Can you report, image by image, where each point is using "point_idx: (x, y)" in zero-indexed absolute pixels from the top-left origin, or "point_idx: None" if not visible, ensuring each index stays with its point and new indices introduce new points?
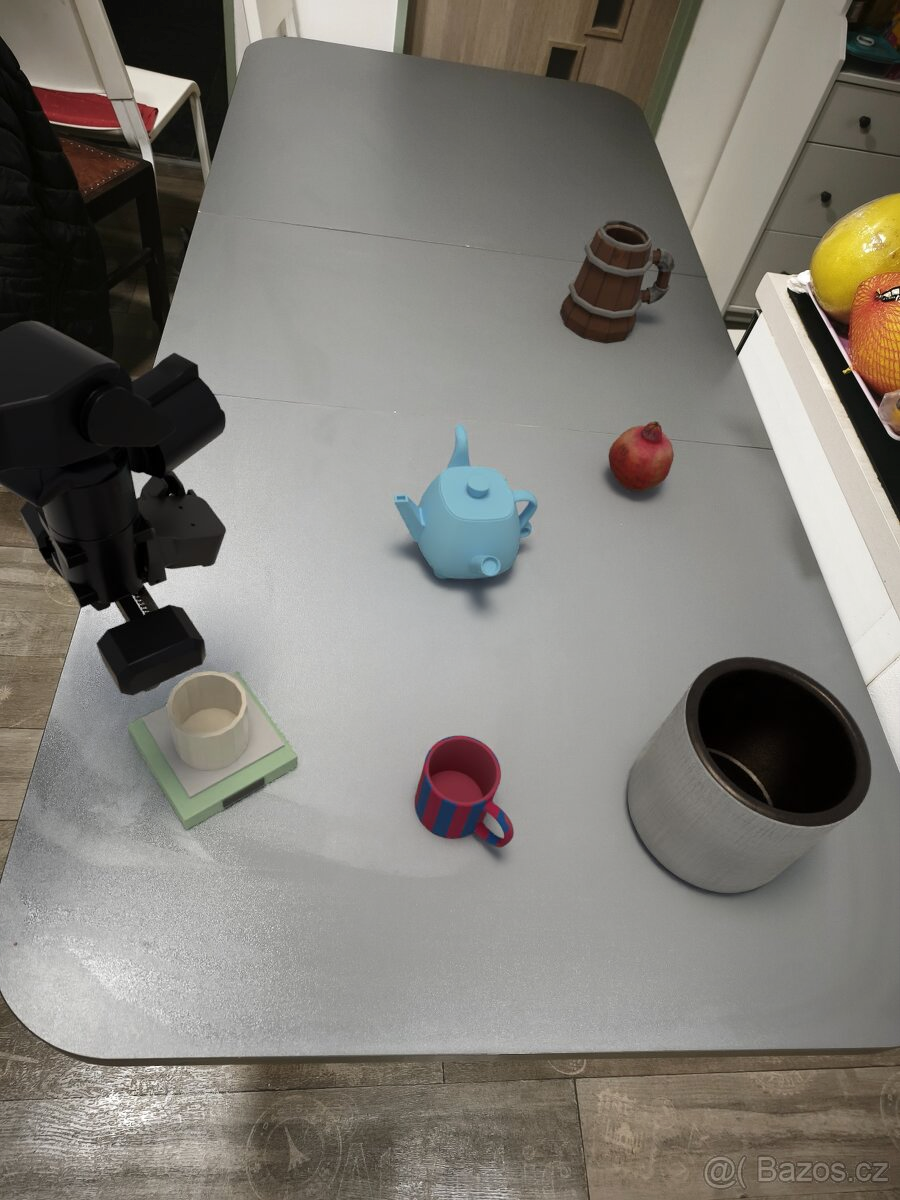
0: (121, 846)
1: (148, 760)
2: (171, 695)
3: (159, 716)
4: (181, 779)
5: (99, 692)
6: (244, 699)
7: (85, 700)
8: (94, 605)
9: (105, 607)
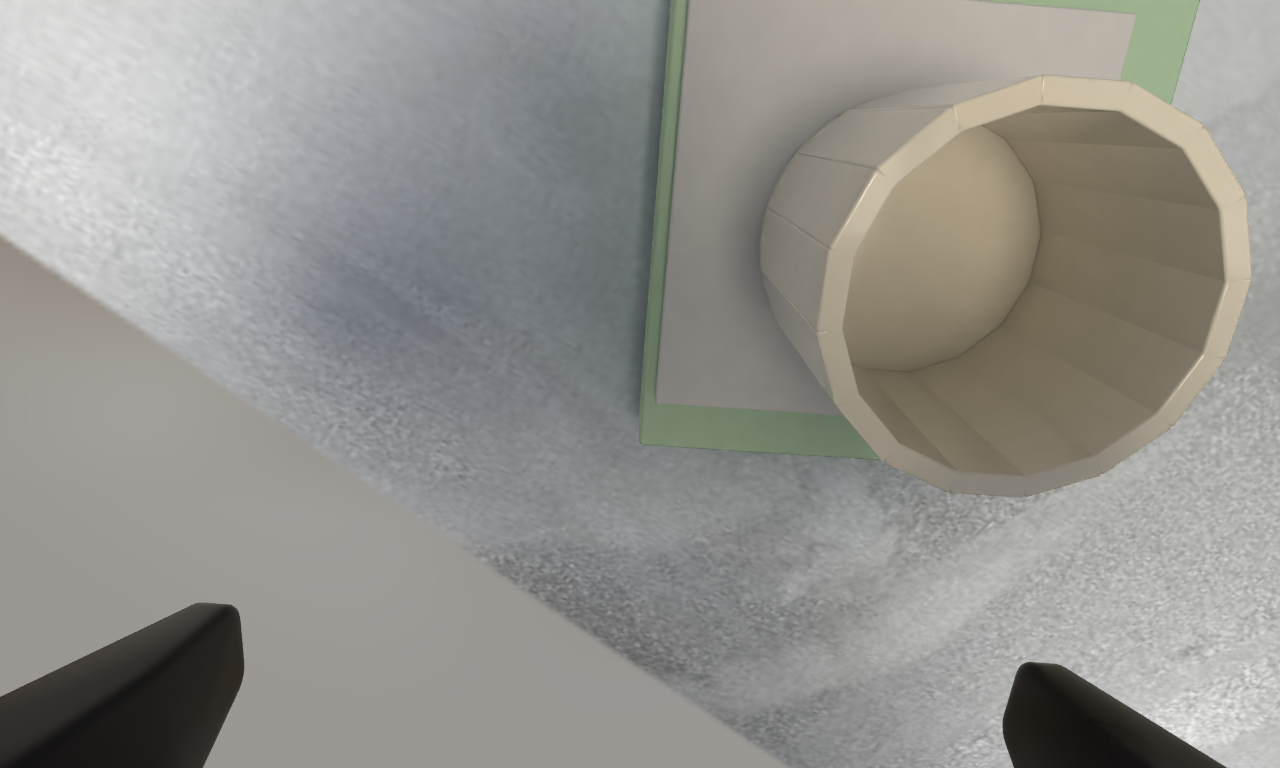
0: (934, 588)
1: (807, 453)
2: (863, 424)
3: (690, 350)
4: None
5: (430, 414)
6: (1173, 120)
7: (436, 460)
8: (204, 753)
9: (233, 640)
